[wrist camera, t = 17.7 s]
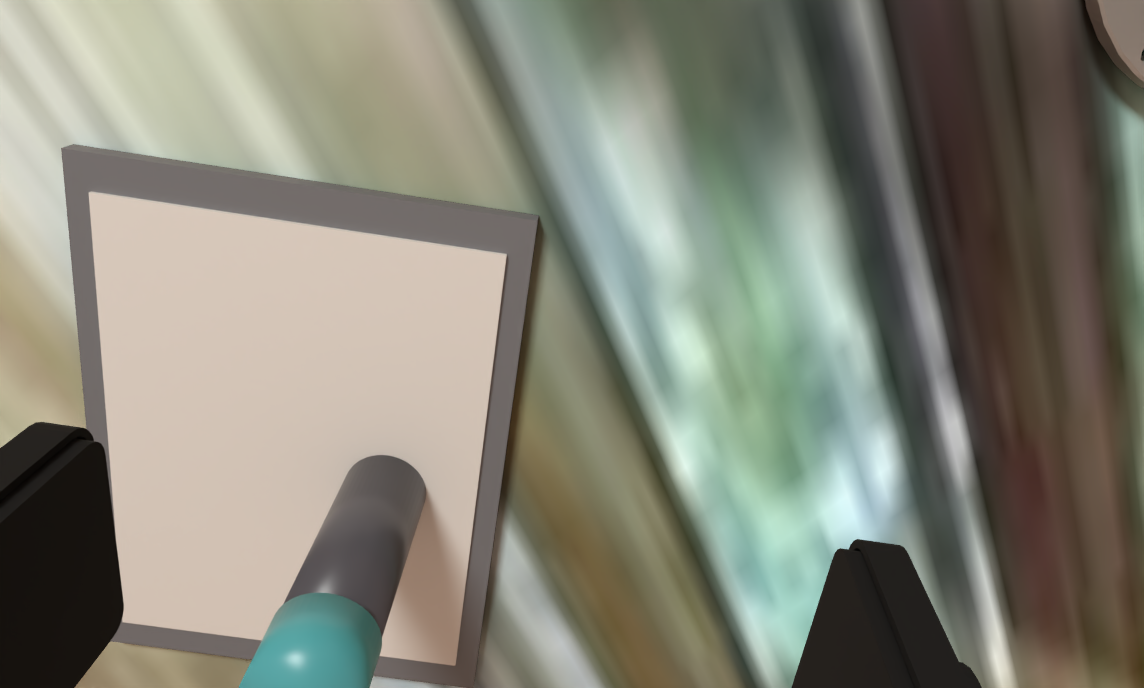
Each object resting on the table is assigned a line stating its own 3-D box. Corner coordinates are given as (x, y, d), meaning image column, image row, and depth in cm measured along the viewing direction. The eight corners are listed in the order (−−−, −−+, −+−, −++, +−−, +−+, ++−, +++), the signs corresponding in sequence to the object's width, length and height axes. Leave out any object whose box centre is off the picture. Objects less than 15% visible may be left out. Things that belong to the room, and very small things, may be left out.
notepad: (538, 215, 33) (537, 222, 32) (475, 676, 42) (472, 691, 42) (73, 144, 32) (58, 148, 31) (114, 629, 42) (103, 643, 41)
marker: (431, 459, 36) (363, 668, 25) (424, 531, 38) (357, 758, 27) (343, 447, 36) (236, 651, 25) (340, 520, 38) (236, 743, 27)
